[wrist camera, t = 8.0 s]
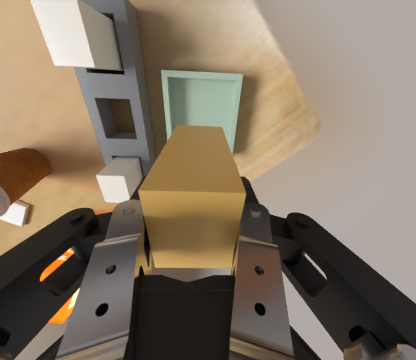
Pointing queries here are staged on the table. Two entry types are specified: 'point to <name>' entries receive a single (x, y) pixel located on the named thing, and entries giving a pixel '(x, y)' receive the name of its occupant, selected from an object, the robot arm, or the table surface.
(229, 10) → the table surface
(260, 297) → the robot arm
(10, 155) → the disposable coffee cup
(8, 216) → the external hard drive
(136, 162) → the fuse
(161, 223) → the tan rectangular block
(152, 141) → the rack
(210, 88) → the tray
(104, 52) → the fuse
